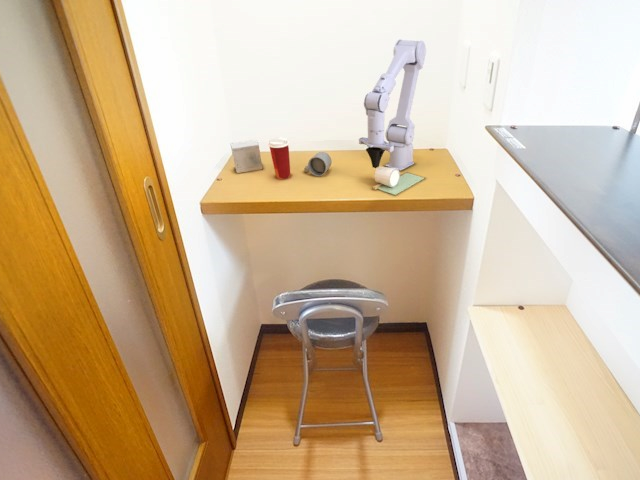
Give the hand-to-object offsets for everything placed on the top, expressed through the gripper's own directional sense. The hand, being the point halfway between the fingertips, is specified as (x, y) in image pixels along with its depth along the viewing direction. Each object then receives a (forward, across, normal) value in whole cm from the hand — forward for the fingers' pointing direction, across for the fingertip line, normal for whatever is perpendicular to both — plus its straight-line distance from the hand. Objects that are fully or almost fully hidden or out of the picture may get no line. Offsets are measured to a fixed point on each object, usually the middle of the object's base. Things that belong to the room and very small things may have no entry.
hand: (375, 166), depth 145 cm
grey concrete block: (+6, -48, -23) cm, 54 cm away
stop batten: (+6, +4, 0) cm, 7 cm away
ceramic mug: (+6, -23, -8) cm, 25 cm away
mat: (+6, +9, +4) cm, 11 cm away
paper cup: (+6, -31, -19) cm, 37 cm away
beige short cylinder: (+2, +2, -1) cm, 3 cm away
